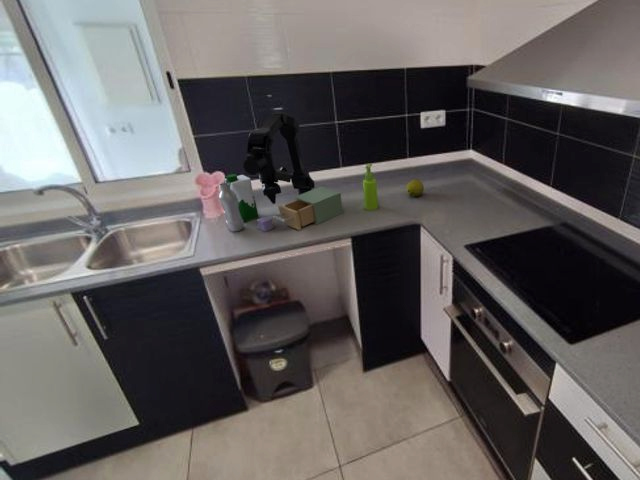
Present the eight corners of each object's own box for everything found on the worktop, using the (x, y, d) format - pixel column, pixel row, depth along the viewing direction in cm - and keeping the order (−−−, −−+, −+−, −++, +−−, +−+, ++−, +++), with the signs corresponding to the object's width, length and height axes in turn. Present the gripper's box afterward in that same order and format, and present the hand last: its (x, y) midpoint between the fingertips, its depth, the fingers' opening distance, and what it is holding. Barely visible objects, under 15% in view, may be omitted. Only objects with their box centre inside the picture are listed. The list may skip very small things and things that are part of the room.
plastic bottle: (248, 227, 159) (237, 181, 149) (237, 234, 153) (224, 188, 143) (236, 224, 160) (224, 180, 151) (224, 232, 155) (210, 186, 145)
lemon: (415, 190, 192) (415, 175, 188) (427, 194, 187) (427, 179, 183) (401, 197, 184) (400, 182, 180) (413, 201, 180) (413, 185, 176)
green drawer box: (317, 224, 160) (313, 203, 155) (298, 216, 167) (294, 196, 162) (342, 212, 170) (340, 192, 166) (324, 205, 177) (321, 186, 172)
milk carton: (232, 217, 166) (220, 174, 157) (252, 211, 172) (242, 169, 163) (241, 223, 161) (230, 179, 152) (262, 216, 167) (251, 173, 157)
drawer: (289, 234, 151) (285, 216, 147) (272, 226, 157) (268, 209, 153) (324, 218, 163) (322, 201, 159) (307, 211, 169) (304, 195, 166)
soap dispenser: (379, 204, 178) (376, 163, 168) (376, 210, 171) (373, 168, 162) (367, 203, 178) (363, 162, 168) (363, 210, 172) (360, 167, 162)
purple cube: (259, 228, 157) (257, 219, 155) (268, 225, 160) (266, 216, 158) (265, 231, 155) (262, 222, 153) (274, 227, 158) (272, 218, 156)
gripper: (291, 169, 139) (298, 208, 146) (284, 156, 154) (291, 192, 161) (259, 174, 135) (268, 214, 142) (255, 160, 150) (263, 196, 157)
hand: (274, 203), depth 151 cm, fingers closed
